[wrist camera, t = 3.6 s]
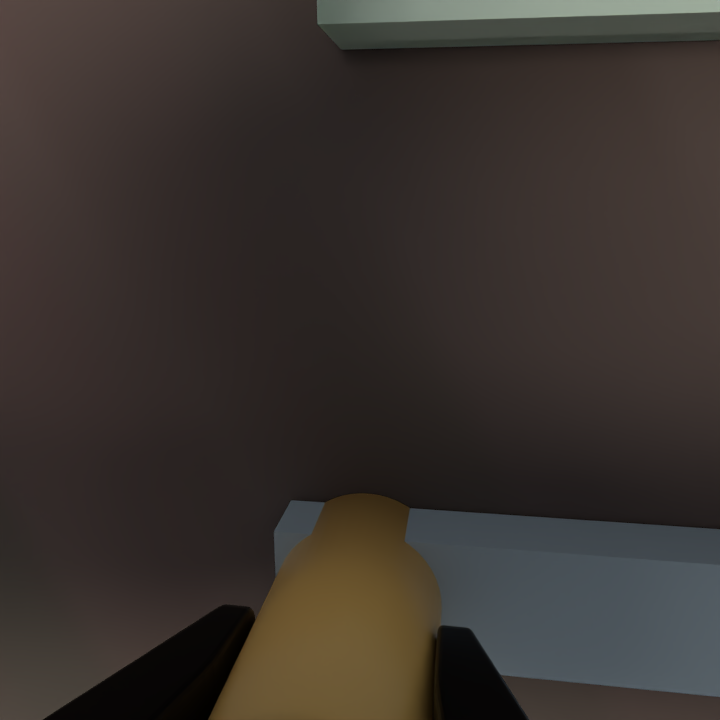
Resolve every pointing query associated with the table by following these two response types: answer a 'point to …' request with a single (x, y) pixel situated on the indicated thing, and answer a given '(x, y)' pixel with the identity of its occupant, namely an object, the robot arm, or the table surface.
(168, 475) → the table surface
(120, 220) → the table surface
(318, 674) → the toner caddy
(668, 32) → the tray
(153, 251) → the table surface
